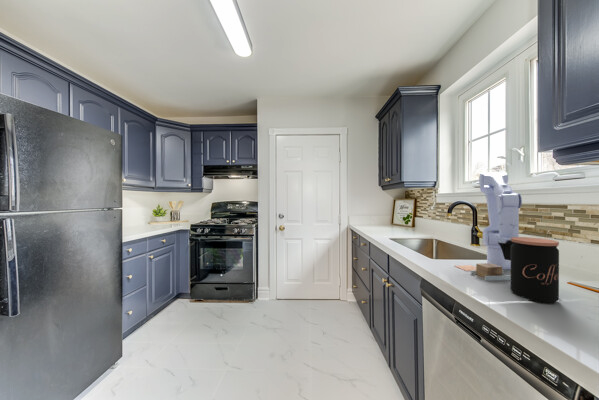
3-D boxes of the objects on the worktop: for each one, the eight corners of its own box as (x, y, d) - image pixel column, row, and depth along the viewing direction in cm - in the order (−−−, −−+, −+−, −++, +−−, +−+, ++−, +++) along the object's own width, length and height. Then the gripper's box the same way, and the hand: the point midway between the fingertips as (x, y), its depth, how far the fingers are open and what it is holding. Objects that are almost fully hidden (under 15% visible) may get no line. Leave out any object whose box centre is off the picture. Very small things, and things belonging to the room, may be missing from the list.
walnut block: (490, 274, 93) (490, 263, 93) (502, 278, 88) (502, 267, 88) (476, 275, 92) (476, 263, 92) (487, 279, 87) (487, 267, 87)
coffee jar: (520, 301, 70) (520, 241, 70) (504, 288, 80) (504, 236, 80) (568, 307, 66) (568, 244, 66) (545, 293, 76) (545, 238, 76)
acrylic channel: (502, 274, 94) (502, 269, 94) (520, 281, 87) (520, 275, 87) (470, 275, 93) (470, 270, 93) (485, 282, 86) (485, 276, 86)
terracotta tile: (471, 267, 105) (471, 265, 105) (484, 272, 98) (484, 270, 98) (454, 267, 104) (454, 265, 104) (466, 272, 97) (466, 270, 97)
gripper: (502, 222, 98) (502, 255, 98) (488, 224, 90) (488, 260, 90) (525, 224, 92) (525, 258, 92) (512, 226, 84) (512, 264, 84)
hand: (508, 259), depth 90 cm, fingers closed
